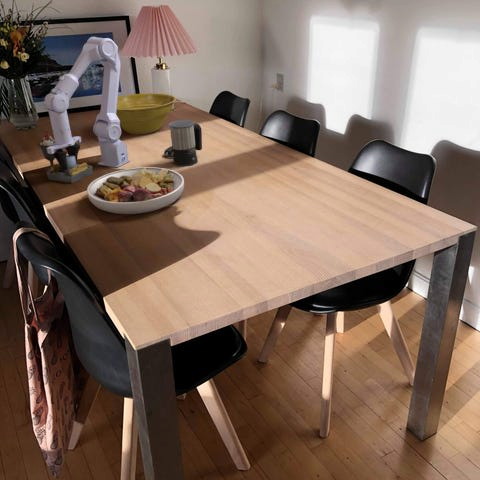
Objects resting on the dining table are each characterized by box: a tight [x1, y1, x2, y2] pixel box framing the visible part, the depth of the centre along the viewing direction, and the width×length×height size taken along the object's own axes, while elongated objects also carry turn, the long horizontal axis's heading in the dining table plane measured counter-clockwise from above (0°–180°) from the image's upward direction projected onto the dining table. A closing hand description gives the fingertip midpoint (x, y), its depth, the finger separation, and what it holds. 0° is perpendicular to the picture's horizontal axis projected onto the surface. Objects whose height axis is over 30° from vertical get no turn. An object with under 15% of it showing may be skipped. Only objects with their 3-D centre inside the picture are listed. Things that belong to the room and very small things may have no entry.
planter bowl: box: [116, 92, 177, 135], centre depth 227 cm, size 32×32×13 cm
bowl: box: [86, 166, 185, 215], centre depth 160 cm, size 30×30×8 cm
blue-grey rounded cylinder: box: [64, 154, 77, 174], centre depth 179 cm, size 4×4×6 cm
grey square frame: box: [46, 162, 94, 184], centre depth 180 cm, size 11×11×4 cm
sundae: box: [37, 130, 56, 173], centre depth 184 cm, size 7×7×15 cm
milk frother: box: [163, 119, 203, 167], centre depth 189 cm, size 14×16×15 cm
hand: (69, 167), depth 179 cm, fingers closed on blue-grey rounded cylinder, 4 cm apart
